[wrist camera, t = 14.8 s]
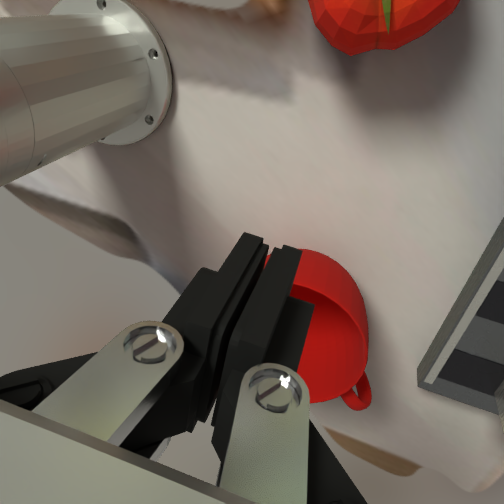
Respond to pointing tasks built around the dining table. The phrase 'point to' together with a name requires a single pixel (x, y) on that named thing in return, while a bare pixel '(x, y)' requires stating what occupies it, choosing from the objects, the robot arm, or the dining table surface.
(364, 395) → the ceramic cup
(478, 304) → the breaker panel
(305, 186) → the dining table surface
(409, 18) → the tomato
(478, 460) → the dining table surface
